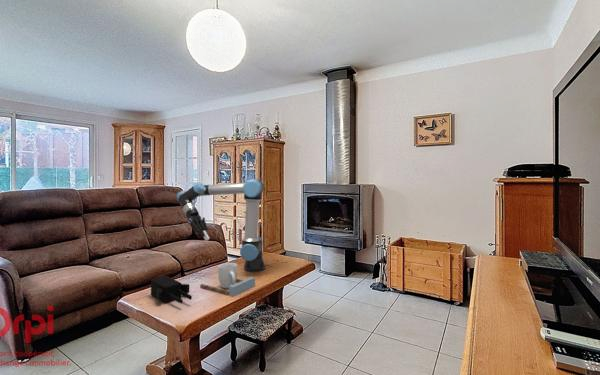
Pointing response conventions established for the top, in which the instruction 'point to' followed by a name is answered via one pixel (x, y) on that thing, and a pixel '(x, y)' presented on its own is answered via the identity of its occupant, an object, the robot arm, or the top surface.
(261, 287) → the top surface
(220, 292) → the channel
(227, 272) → the mug
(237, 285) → the stop
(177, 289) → the black power adapter
